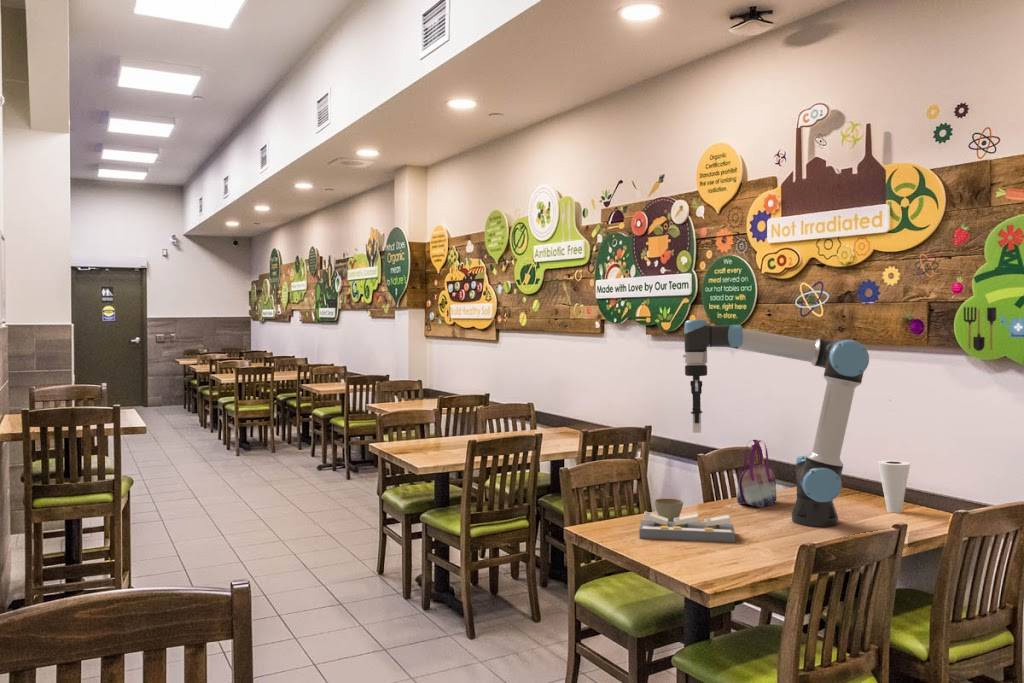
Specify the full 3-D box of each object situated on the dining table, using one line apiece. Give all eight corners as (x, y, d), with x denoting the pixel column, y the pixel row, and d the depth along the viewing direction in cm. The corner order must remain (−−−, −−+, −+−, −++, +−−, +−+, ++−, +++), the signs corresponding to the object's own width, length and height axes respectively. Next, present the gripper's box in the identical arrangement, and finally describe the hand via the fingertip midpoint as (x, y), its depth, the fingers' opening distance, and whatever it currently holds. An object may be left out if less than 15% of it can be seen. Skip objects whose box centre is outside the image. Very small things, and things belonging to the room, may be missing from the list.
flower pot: (683, 525, 260) (683, 504, 260) (654, 524, 262) (654, 503, 262) (682, 518, 270) (682, 498, 270) (654, 517, 272) (654, 497, 272)
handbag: (750, 510, 281) (749, 443, 281) (728, 505, 289) (727, 441, 289) (784, 502, 293) (783, 438, 293) (763, 498, 301) (762, 436, 301)
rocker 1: (666, 523, 251) (668, 518, 251) (666, 526, 247) (668, 521, 247) (643, 515, 252) (644, 510, 252) (642, 518, 249) (644, 513, 248)
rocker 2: (698, 518, 248) (697, 513, 249) (699, 521, 245) (697, 515, 245) (674, 522, 250) (673, 517, 250) (674, 525, 246) (673, 520, 246)
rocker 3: (730, 519, 246) (728, 514, 246) (730, 522, 242) (729, 517, 242) (705, 523, 248) (704, 518, 248) (706, 526, 244) (704, 521, 244)
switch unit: (732, 532, 249) (732, 521, 249) (735, 542, 237) (734, 530, 237) (641, 529, 256) (641, 518, 256) (639, 538, 244) (639, 526, 244)
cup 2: (916, 511, 274) (915, 463, 274) (901, 516, 268) (900, 466, 268) (888, 506, 283) (887, 459, 283) (872, 510, 277) (871, 462, 277)
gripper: (684, 363, 266) (685, 429, 266) (685, 365, 253) (685, 434, 253) (706, 363, 264) (707, 430, 265) (707, 364, 252) (708, 434, 252)
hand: (696, 432), depth 259 cm, fingers closed
